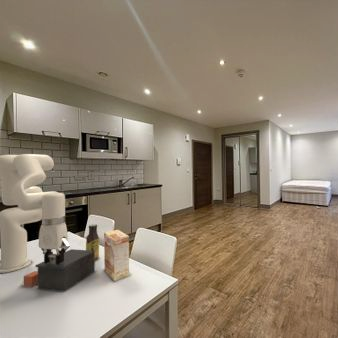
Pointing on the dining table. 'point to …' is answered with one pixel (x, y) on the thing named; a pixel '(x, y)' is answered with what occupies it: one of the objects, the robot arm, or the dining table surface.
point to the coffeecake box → (116, 254)
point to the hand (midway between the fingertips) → (54, 262)
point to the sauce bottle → (93, 240)
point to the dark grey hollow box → (66, 274)
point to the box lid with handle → (65, 259)
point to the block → (31, 279)
